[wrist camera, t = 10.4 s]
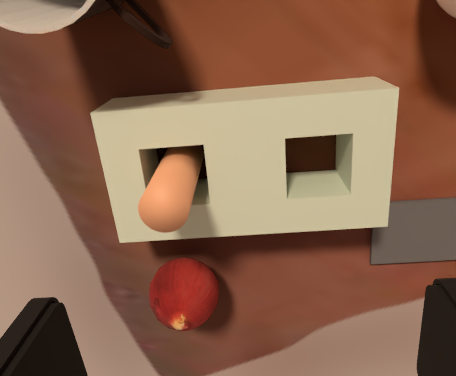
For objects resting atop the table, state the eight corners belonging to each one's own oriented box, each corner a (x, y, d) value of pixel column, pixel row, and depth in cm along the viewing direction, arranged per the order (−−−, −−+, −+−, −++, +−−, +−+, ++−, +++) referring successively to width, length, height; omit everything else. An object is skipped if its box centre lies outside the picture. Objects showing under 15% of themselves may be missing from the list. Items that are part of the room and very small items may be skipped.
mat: (470, 196, 33) (473, 198, 33) (460, 256, 36) (462, 259, 35) (373, 202, 34) (374, 204, 33) (369, 261, 36) (370, 264, 36)
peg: (201, 136, 32) (185, 185, 23) (205, 170, 33) (191, 231, 24) (164, 139, 32) (133, 189, 23) (169, 173, 33) (142, 234, 24)
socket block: (374, 76, 30) (399, 87, 25) (367, 197, 34) (387, 226, 29) (112, 98, 31) (90, 112, 26) (135, 212, 35) (119, 242, 30)
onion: (189, 302, 39) (177, 369, 31) (145, 265, 37) (122, 327, 30) (233, 268, 37) (231, 331, 30) (188, 228, 35) (175, 284, 28)
